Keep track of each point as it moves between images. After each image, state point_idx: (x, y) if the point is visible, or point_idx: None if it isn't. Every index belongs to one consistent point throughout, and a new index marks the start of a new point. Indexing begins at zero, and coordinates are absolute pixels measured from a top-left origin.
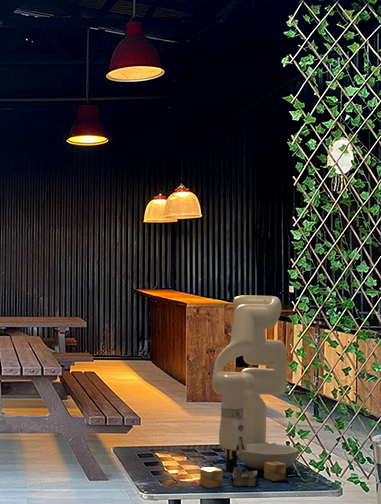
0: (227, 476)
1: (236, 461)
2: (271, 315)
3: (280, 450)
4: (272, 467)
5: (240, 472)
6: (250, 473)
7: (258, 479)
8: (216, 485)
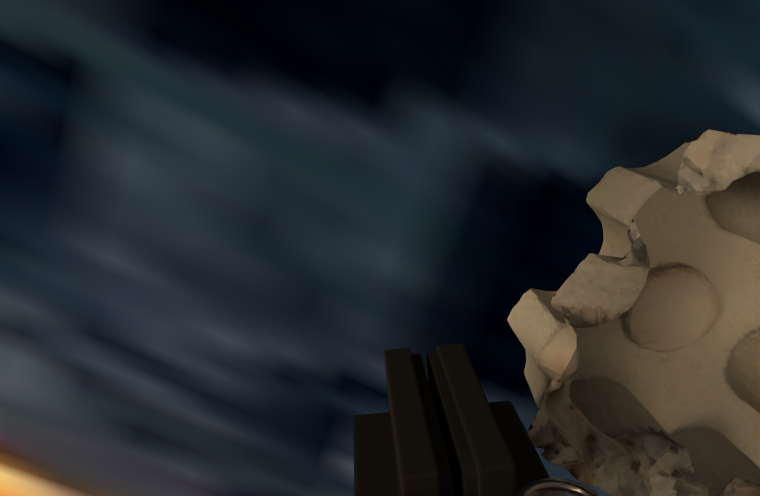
0: (316, 363)
1: (501, 440)
2: None
3: None
4: None
5: (557, 322)
6: (645, 184)
7: (641, 43)
8: None
